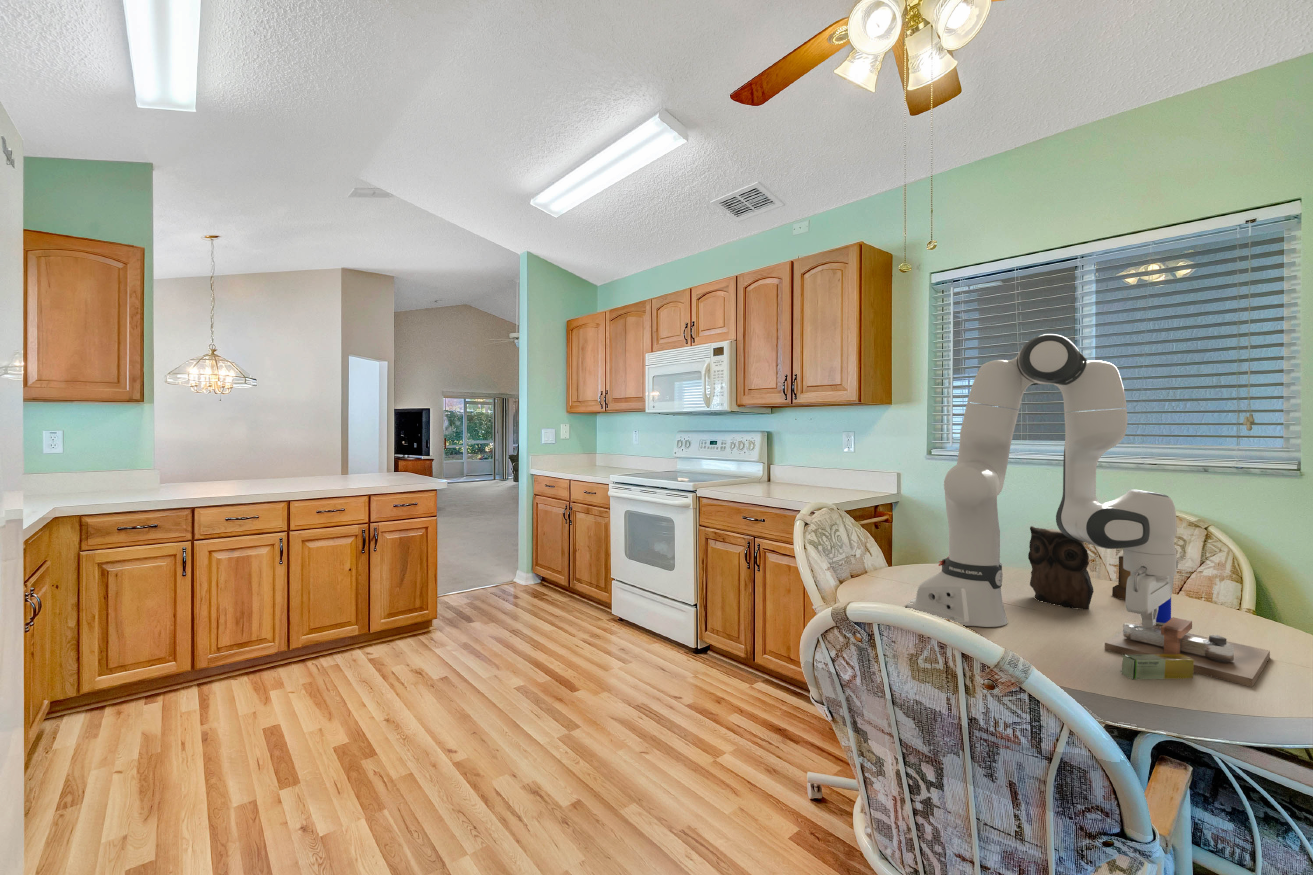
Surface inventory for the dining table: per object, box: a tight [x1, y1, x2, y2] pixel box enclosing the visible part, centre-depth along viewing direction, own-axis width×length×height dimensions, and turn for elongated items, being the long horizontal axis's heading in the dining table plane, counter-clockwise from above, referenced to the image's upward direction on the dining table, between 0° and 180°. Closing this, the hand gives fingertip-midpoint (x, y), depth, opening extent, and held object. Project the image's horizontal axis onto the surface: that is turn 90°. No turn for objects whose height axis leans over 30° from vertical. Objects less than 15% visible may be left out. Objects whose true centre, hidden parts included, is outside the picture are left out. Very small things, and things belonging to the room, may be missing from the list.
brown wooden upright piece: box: [1111, 555, 1131, 601], centre depth 154 cm, size 7×6×18 cm
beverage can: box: [1156, 597, 1172, 626], centre depth 135 cm, size 5×5×15 cm
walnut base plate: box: [1104, 616, 1271, 688], centre depth 116 cm, size 22×22×7 cm
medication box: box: [1121, 654, 1194, 680], centre depth 106 cm, size 12×3×4 cm, turn 93°
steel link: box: [1122, 623, 1234, 661], centre depth 114 cm, size 17×4×2 cm, turn 38°
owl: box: [1027, 525, 1094, 611], centre depth 151 cm, size 13×13×20 cm
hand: (1149, 625), depth 123 cm, fingers closed
